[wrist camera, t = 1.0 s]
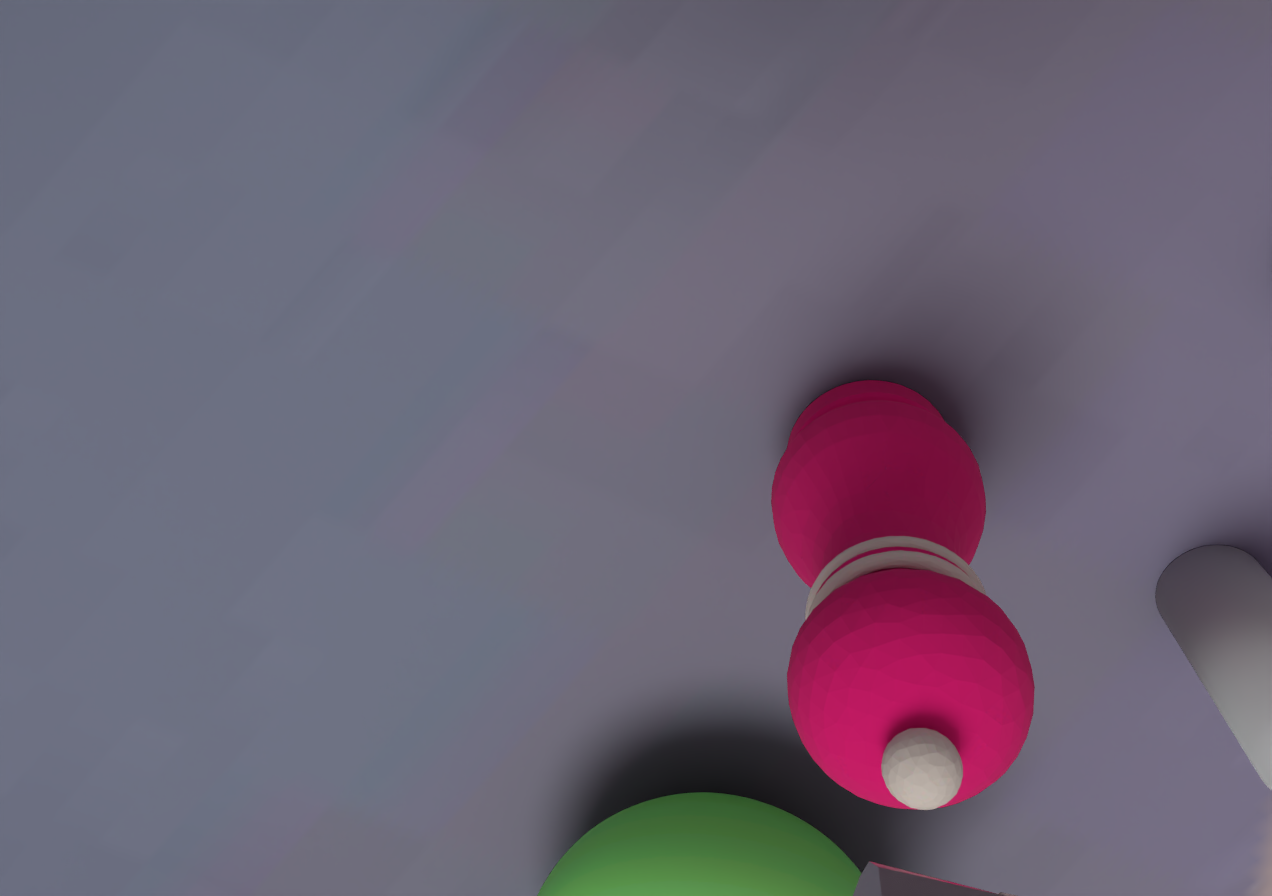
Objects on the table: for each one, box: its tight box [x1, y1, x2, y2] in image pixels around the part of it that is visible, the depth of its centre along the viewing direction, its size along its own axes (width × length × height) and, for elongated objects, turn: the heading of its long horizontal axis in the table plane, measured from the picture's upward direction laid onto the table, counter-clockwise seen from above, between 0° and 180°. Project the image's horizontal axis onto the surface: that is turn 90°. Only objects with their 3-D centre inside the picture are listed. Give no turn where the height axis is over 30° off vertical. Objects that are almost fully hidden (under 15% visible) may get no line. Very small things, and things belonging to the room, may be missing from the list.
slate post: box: [1156, 545, 1272, 790], centre depth 38 cm, size 4×4×10 cm
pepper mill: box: [771, 380, 1034, 810], centre depth 33 cm, size 7×7×20 cm
